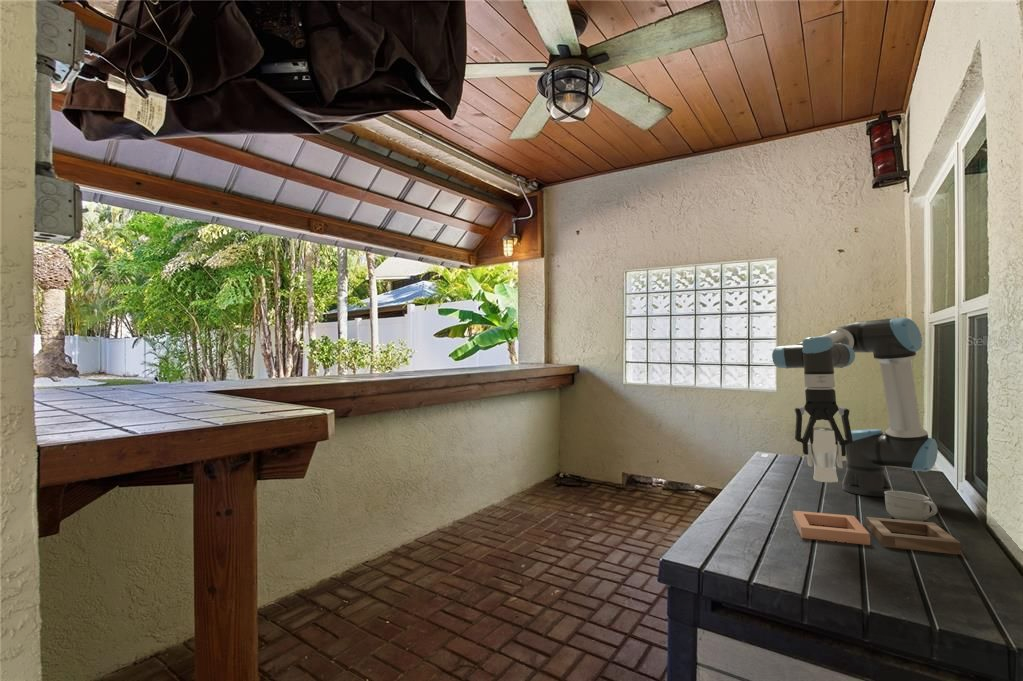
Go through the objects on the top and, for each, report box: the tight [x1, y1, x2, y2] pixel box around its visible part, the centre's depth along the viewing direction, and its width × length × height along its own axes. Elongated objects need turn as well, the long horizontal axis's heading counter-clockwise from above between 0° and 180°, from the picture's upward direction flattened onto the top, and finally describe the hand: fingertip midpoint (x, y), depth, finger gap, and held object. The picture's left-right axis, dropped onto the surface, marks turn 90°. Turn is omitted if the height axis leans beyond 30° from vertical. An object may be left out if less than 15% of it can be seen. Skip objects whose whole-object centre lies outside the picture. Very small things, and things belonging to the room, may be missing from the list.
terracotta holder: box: [792, 510, 871, 546], centre depth 137 cm, size 16×16×3 cm
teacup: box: [884, 490, 938, 522], centre depth 143 cm, size 14×11×8 cm
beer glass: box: [809, 427, 839, 484], centre depth 138 cm, size 7×7×15 cm
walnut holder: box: [865, 516, 963, 556], centre depth 129 cm, size 16×16×3 cm
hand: (824, 466), depth 138 cm, fingers closed on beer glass, 7 cm apart
